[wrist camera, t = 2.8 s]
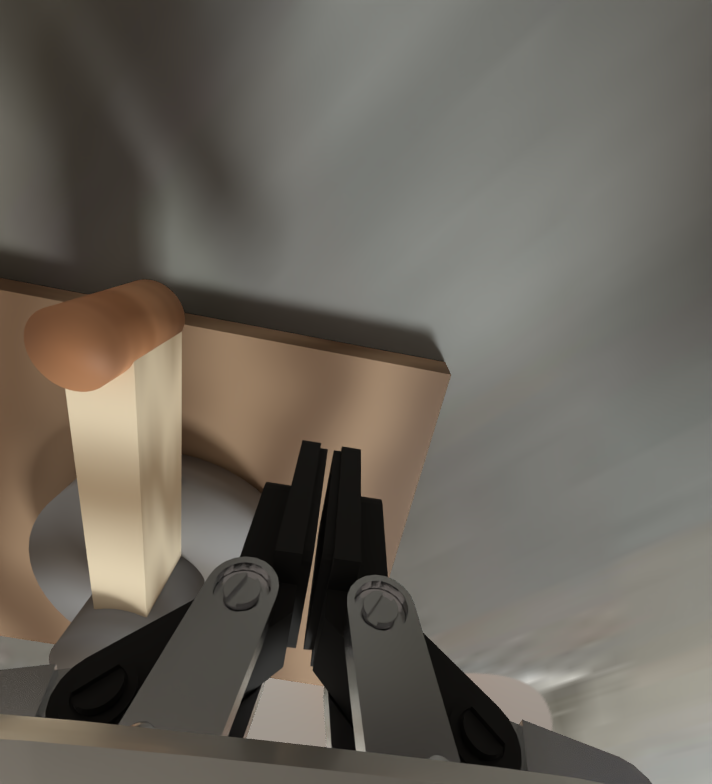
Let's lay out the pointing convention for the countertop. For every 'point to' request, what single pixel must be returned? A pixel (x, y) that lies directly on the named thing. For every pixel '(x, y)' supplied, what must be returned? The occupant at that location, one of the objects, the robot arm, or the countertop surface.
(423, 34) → the countertop surface
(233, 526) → the grey disc with handle
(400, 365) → the board
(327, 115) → the countertop surface
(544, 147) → the countertop surface
